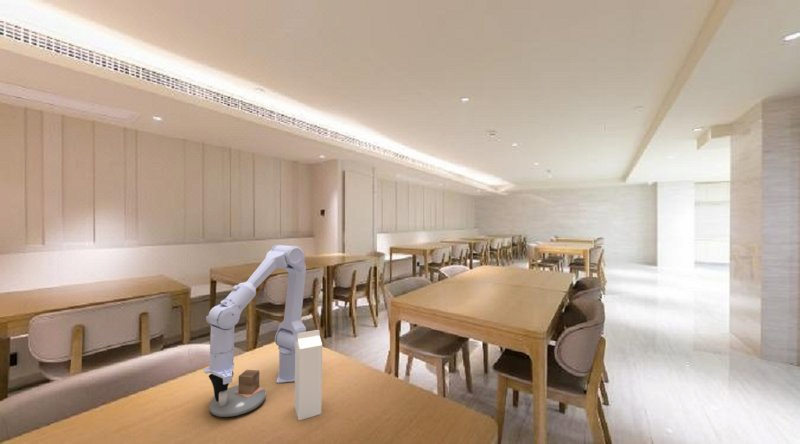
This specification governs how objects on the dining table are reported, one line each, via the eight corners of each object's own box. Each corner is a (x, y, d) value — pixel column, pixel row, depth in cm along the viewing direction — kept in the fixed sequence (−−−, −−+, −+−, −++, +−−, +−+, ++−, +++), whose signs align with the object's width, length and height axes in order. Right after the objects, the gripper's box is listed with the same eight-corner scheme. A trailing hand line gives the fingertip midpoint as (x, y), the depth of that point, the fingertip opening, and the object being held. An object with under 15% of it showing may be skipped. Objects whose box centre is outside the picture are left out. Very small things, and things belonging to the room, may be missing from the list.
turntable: (245, 383, 97) (245, 368, 97) (275, 396, 91) (276, 380, 91) (198, 406, 85) (198, 389, 85) (229, 423, 78) (230, 404, 78)
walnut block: (246, 386, 93) (246, 369, 93) (259, 387, 93) (259, 370, 93) (238, 393, 89) (238, 376, 89) (251, 394, 89) (251, 377, 89)
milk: (321, 414, 84) (323, 333, 84) (298, 421, 81) (300, 337, 81) (315, 402, 89) (317, 326, 89) (293, 408, 86) (295, 329, 86)
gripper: (199, 345, 88) (198, 393, 88) (210, 363, 77) (209, 418, 77) (227, 339, 93) (226, 385, 92) (241, 355, 82) (240, 407, 82)
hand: (220, 399), depth 85 cm, fingers closed, pressing on turntable
